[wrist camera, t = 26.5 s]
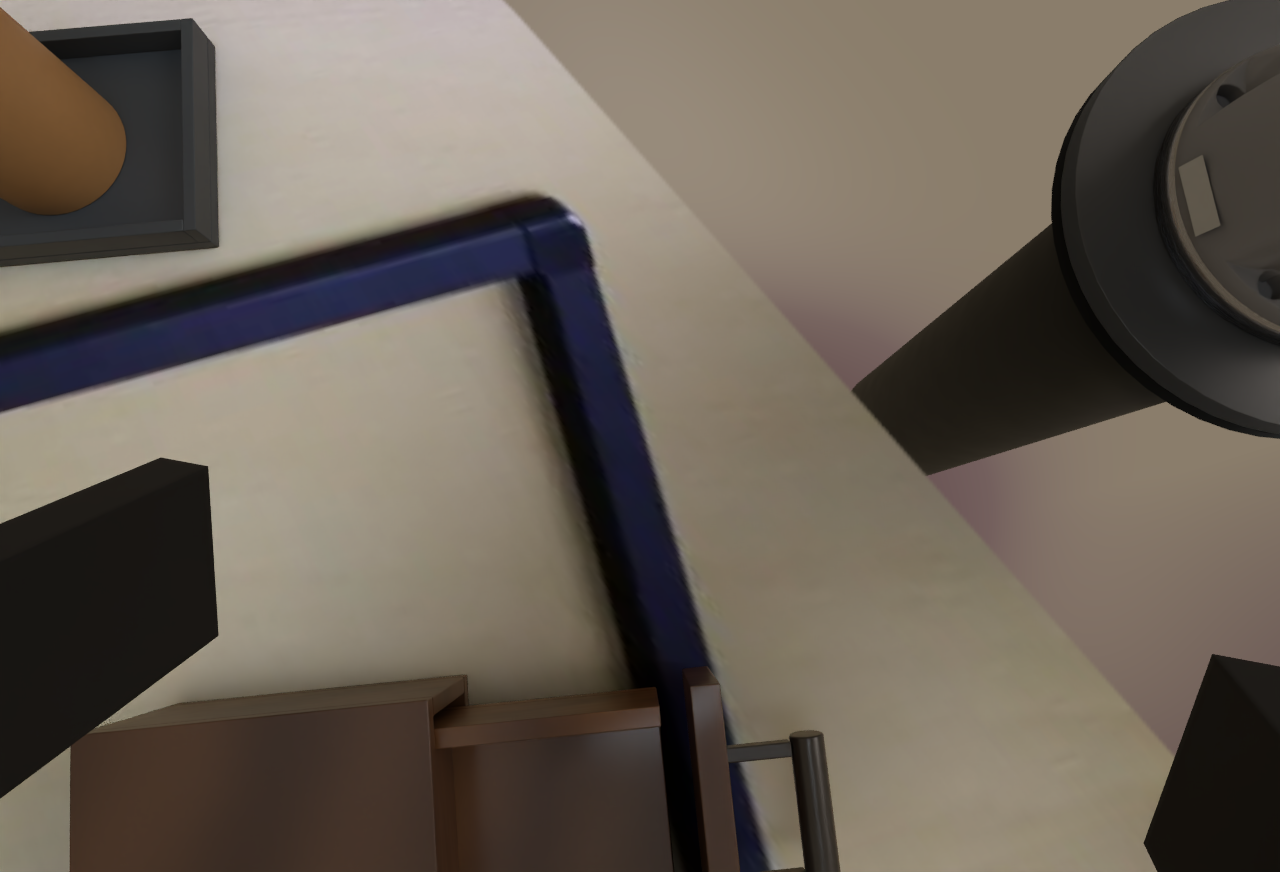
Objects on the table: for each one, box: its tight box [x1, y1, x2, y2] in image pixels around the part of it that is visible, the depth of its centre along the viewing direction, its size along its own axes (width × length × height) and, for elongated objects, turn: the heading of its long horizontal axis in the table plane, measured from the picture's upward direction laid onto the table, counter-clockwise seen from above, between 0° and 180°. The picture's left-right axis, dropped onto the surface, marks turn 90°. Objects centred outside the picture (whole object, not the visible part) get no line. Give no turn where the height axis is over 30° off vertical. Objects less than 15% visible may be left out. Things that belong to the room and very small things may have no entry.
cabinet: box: [70, 675, 469, 872], centre depth 34 cm, size 14×12×8 cm
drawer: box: [433, 666, 841, 872], centre depth 35 cm, size 17×11×6 cm
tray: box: [0, 18, 219, 266], centre depth 42 cm, size 15×11×2 cm
